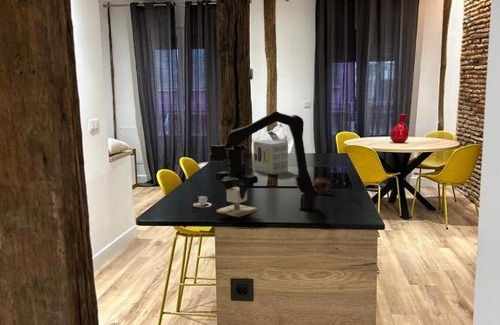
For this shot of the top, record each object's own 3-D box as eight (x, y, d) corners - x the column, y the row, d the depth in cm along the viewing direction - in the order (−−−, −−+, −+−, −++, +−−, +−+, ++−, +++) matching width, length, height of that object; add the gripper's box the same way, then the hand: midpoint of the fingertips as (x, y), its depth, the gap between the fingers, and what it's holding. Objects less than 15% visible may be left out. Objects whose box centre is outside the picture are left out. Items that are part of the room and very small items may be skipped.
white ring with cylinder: (195, 209, 200) (194, 200, 199) (189, 205, 207) (189, 196, 206) (214, 206, 203) (214, 197, 203) (207, 202, 211) (207, 194, 210)
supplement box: (253, 170, 282) (252, 141, 279) (268, 167, 291) (268, 139, 288) (272, 174, 269) (272, 143, 266) (288, 171, 278) (288, 141, 275)
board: (257, 210, 195) (256, 201, 194) (238, 217, 186) (238, 207, 185) (235, 206, 203) (235, 197, 202) (216, 212, 193) (216, 202, 193)
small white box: (247, 200, 194) (246, 187, 193) (237, 203, 189) (237, 190, 188) (236, 198, 198) (235, 186, 197) (226, 201, 193) (226, 188, 192)
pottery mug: (306, 193, 226) (309, 177, 228) (320, 199, 230) (324, 183, 233) (321, 191, 216) (325, 174, 218) (337, 197, 220) (340, 181, 222)
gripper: (265, 160, 191) (266, 197, 194) (231, 156, 203) (232, 191, 205) (248, 164, 182) (249, 202, 185) (214, 160, 194) (215, 196, 197)
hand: (236, 198), depth 193 cm, fingers closed on small white box, 6 cm apart
